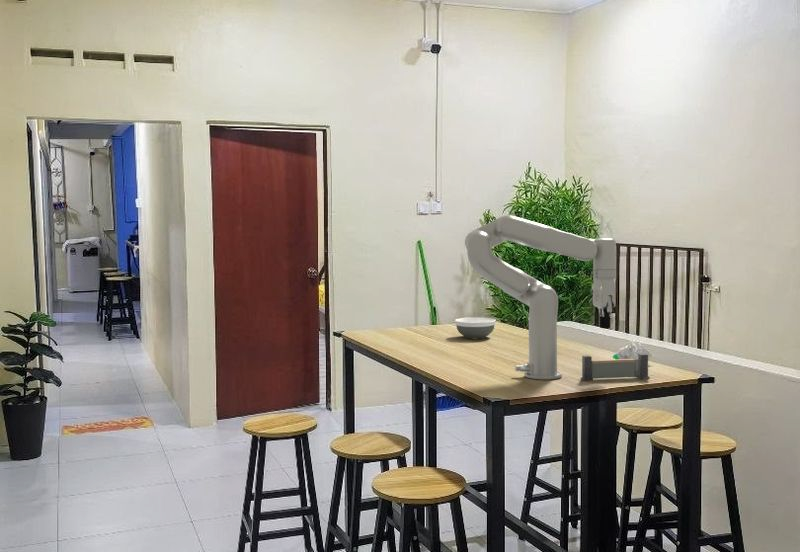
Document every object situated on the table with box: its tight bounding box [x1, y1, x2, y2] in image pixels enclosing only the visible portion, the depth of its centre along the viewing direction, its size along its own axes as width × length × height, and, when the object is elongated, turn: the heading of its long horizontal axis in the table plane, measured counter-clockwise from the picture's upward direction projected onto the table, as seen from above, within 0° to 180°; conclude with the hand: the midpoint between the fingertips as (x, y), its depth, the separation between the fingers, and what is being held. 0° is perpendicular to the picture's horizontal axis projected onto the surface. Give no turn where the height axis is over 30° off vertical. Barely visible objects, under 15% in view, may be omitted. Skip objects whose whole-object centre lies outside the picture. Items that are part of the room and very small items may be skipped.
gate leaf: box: [592, 359, 639, 380], centre depth 267 cm, size 16×1×6 cm, turn 96°
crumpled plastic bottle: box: [612, 340, 654, 361], centre depth 291 cm, size 12×9×10 cm
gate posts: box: [580, 354, 650, 382], centre depth 267 cm, size 23×3×8 cm, turn 96°
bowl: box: [454, 316, 497, 339], centre depth 363 cm, size 19×19×8 cm
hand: (604, 327), depth 272 cm, fingers closed
